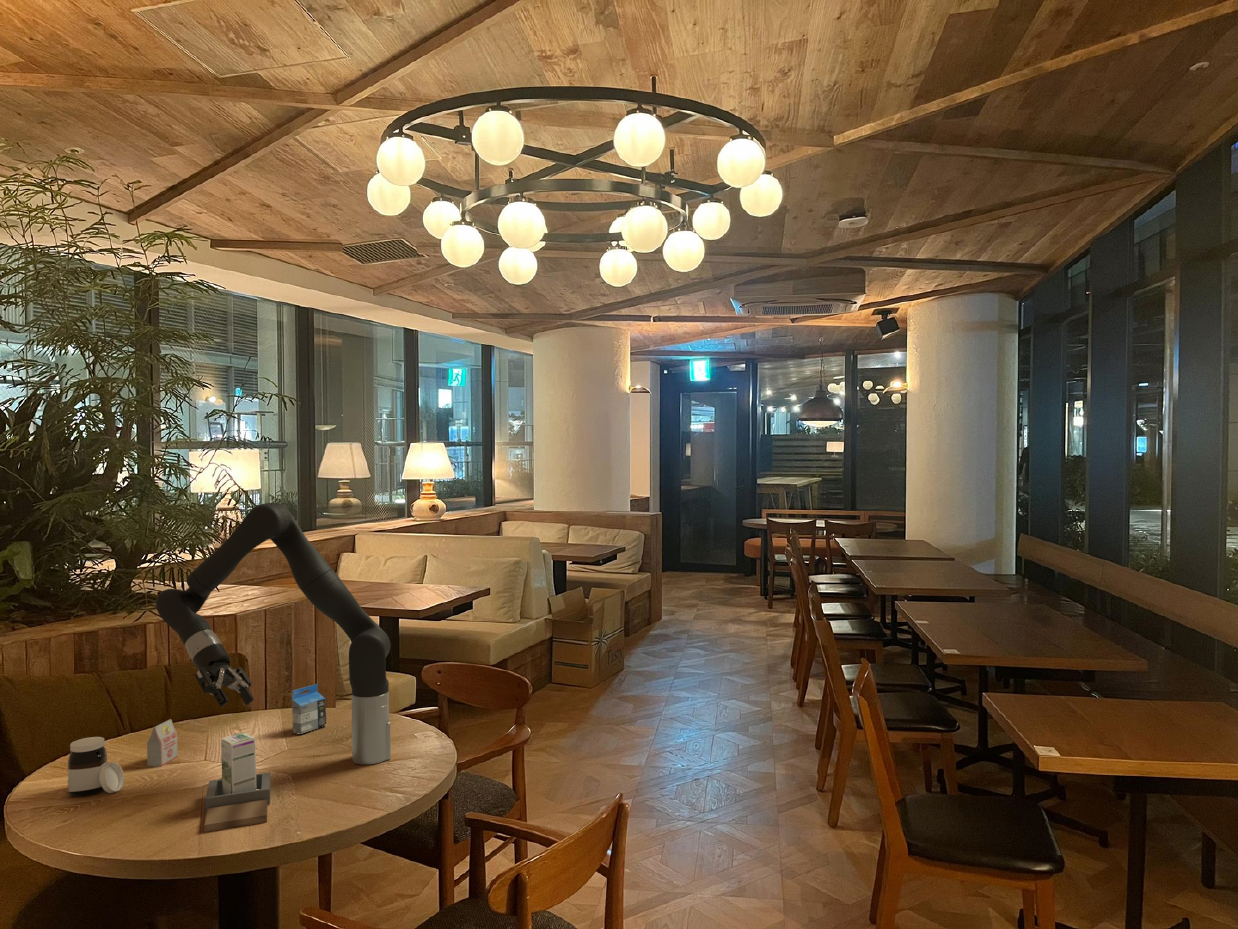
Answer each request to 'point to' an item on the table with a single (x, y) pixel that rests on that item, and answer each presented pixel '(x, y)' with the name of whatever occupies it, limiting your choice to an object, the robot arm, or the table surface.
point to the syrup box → (238, 763)
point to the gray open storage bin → (217, 799)
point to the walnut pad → (236, 815)
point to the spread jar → (92, 768)
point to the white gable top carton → (162, 745)
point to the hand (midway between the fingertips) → (238, 703)
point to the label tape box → (308, 709)
